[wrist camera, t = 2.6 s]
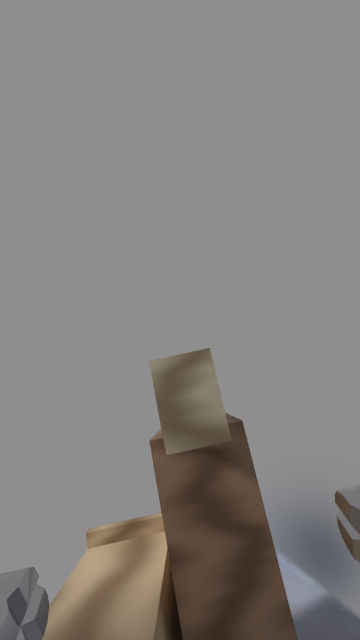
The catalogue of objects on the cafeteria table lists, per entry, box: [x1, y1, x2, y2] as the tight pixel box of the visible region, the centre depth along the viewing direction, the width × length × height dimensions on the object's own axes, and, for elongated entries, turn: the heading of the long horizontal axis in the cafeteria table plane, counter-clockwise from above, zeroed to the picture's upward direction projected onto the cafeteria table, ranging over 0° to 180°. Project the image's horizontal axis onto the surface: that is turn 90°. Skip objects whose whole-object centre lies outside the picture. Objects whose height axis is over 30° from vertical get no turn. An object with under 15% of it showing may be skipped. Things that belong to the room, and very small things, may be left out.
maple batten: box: [149, 348, 232, 455], centre depth 25 cm, size 4×20×5 cm, turn 178°
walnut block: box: [150, 413, 298, 640], centre depth 27 cm, size 8×17×26 cm, turn 178°
